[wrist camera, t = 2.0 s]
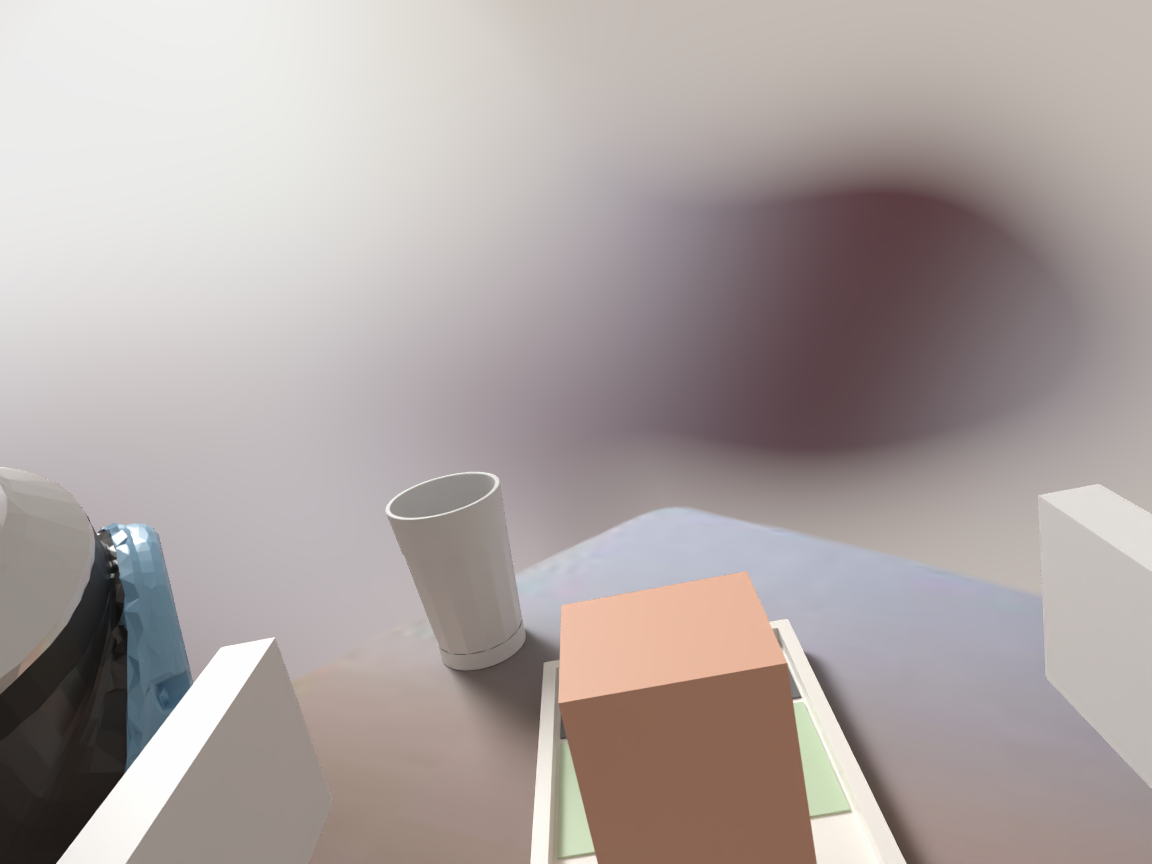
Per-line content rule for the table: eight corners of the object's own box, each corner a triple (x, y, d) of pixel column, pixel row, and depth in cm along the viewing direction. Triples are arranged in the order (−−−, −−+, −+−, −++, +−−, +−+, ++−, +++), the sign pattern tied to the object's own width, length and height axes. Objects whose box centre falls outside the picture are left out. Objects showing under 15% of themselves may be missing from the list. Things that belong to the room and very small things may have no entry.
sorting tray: (514, 1399, 22) (497, 1353, 21) (550, 688, 52) (543, 662, 52) (1107, 1324, 21) (1106, 1275, 20) (791, 646, 52) (787, 618, 51)
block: (640, 1035, 29) (558, 703, 25) (629, 894, 35) (561, 605, 30) (837, 1006, 28) (787, 662, 24) (793, 867, 34) (747, 571, 30)
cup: (411, 653, 60) (366, 505, 57) (499, 604, 65) (462, 465, 61) (465, 691, 54) (418, 529, 51) (558, 635, 58) (521, 482, 55)
